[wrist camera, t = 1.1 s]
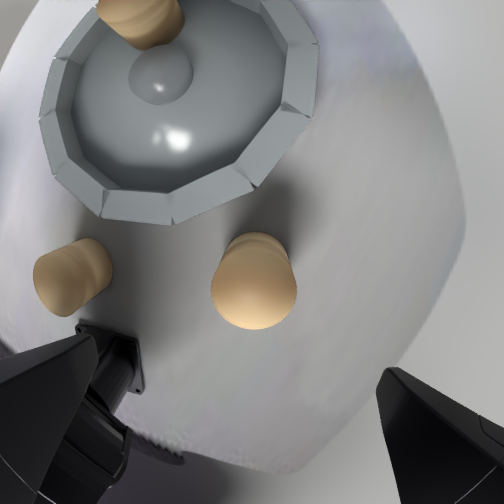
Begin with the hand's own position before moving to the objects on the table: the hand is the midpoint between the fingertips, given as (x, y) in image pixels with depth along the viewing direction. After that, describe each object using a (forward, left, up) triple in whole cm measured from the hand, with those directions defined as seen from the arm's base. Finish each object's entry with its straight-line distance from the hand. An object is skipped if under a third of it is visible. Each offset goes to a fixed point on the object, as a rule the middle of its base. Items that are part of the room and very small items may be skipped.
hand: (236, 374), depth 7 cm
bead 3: (0, 0, -12) cm, 12 cm away
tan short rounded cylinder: (+16, +9, -11) cm, 21 cm away
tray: (+12, +7, -12) cm, 18 cm away
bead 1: (-2, +13, -12) cm, 18 cm away
